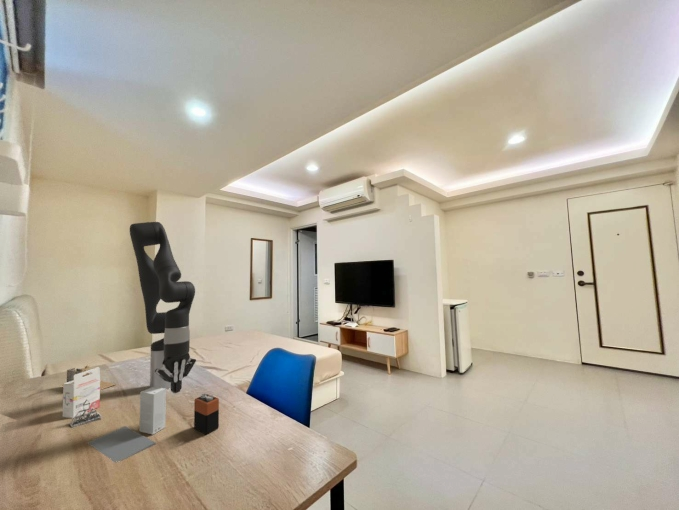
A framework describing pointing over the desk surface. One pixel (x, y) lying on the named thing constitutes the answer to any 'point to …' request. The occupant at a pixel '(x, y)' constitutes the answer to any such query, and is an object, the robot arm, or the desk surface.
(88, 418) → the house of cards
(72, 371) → the ruin model on sheet
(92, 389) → the ink cartridge box
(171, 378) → the robot arm
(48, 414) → the desk surface
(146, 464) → the desk surface
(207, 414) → the battery
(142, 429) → the skincare box
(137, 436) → the mat
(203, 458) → the desk surface
